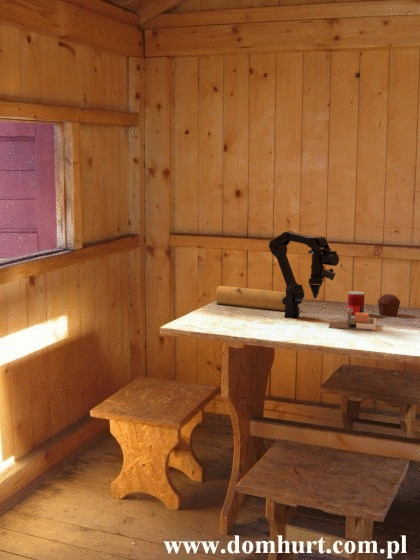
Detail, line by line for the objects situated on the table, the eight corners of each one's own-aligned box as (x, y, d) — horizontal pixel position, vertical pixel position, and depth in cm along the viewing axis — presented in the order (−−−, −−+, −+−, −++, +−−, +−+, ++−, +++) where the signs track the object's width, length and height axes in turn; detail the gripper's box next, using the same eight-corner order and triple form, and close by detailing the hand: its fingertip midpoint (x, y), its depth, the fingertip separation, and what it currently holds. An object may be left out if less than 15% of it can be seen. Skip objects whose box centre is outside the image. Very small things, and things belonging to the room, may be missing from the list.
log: (291, 309, 408) (291, 290, 407) (284, 312, 400) (285, 292, 398) (222, 302, 425) (223, 283, 423) (214, 304, 416) (215, 285, 415)
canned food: (363, 316, 394) (364, 294, 392) (346, 315, 395) (347, 293, 394) (363, 313, 401) (364, 291, 400) (347, 312, 403) (348, 290, 401)
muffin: (403, 317, 394) (404, 296, 393) (382, 317, 392) (383, 297, 391) (394, 312, 406) (395, 292, 404) (373, 312, 404) (374, 292, 402)
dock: (328, 330, 365) (328, 321, 364) (330, 324, 379) (330, 315, 378) (375, 333, 361) (375, 324, 360) (375, 327, 374) (375, 318, 374)
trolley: (347, 326, 365) (347, 314, 364) (348, 322, 375) (349, 309, 374) (370, 328, 363) (370, 315, 362) (370, 323, 373) (371, 311, 372)
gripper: (333, 267, 364) (332, 300, 366) (336, 261, 382) (334, 294, 384) (309, 265, 366) (307, 299, 368) (312, 260, 384) (311, 292, 387)
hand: (316, 296), depth 377 cm, fingers open, 9 cm apart
